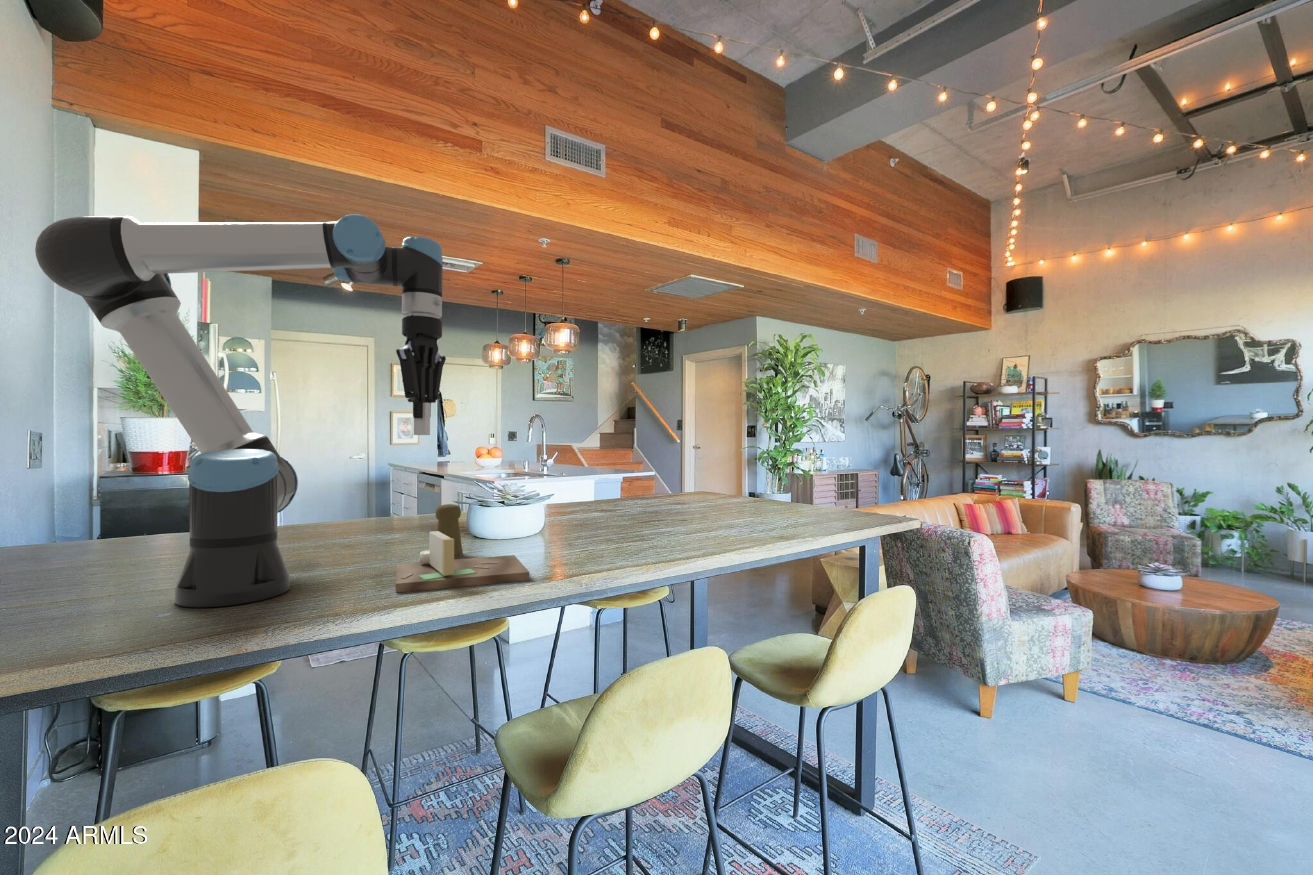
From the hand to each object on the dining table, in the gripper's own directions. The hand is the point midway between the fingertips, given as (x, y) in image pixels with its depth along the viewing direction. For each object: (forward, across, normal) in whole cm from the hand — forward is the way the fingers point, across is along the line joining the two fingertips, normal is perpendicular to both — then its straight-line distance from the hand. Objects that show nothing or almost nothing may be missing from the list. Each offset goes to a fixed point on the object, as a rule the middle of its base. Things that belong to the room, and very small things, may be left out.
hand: (421, 434), depth 118 cm
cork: (+26, +9, 0) cm, 28 cm away
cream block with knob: (+24, -9, -10) cm, 27 cm away
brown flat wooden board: (+26, -7, -13) cm, 30 cm away
